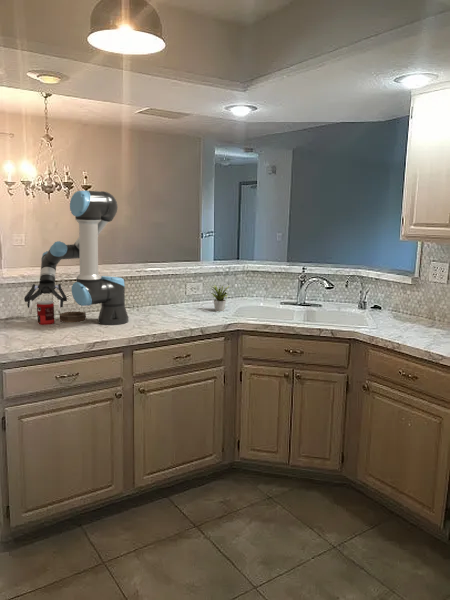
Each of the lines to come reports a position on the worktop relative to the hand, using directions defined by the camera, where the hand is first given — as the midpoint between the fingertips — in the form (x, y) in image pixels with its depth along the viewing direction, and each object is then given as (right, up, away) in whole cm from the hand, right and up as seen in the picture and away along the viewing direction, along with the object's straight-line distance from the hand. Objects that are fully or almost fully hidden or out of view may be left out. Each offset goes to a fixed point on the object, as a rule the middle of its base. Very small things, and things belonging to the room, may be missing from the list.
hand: (44, 312), depth 248 cm
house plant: (+84, 0, +40) cm, 93 cm away
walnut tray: (+11, -4, +11) cm, 16 cm away
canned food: (0, -6, +2) cm, 6 cm away
